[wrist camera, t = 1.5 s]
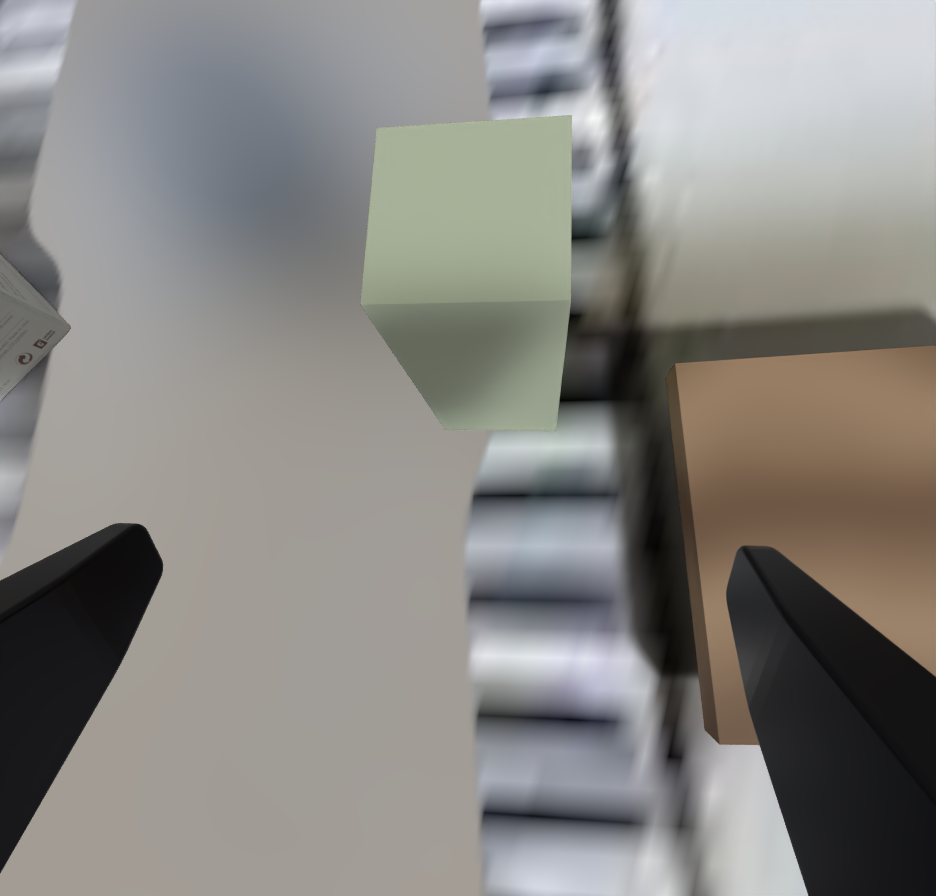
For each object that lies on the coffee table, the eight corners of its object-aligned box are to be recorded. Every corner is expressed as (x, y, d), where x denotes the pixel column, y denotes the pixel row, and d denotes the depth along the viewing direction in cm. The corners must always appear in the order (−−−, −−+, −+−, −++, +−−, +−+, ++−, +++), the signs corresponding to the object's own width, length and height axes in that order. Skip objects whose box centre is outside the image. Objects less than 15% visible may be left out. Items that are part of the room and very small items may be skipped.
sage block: (555, 431, 22) (570, 300, 11) (445, 429, 22) (360, 304, 12) (556, 326, 23) (571, 115, 12) (450, 328, 23) (376, 127, 13)
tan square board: (1077, 719, 18) (1184, 749, 15) (691, 717, 19) (719, 744, 16) (990, 369, 20) (1065, 336, 17) (657, 391, 22) (675, 363, 19)
